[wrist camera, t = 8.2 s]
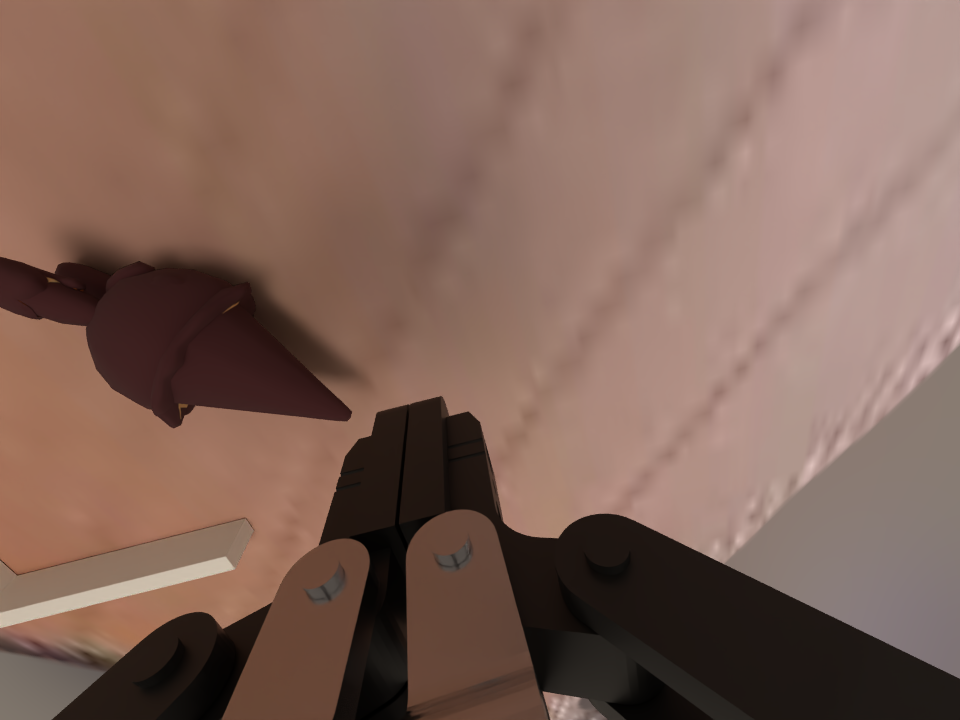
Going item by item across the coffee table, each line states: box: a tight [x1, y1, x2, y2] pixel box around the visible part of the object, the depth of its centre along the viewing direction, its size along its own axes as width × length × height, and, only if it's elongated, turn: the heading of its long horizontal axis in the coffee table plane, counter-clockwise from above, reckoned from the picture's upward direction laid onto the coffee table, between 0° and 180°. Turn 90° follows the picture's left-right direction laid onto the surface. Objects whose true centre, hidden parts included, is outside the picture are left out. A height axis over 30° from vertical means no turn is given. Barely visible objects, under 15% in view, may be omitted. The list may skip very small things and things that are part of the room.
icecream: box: [0, 257, 352, 428], centre depth 19 cm, size 7×7×15 cm
